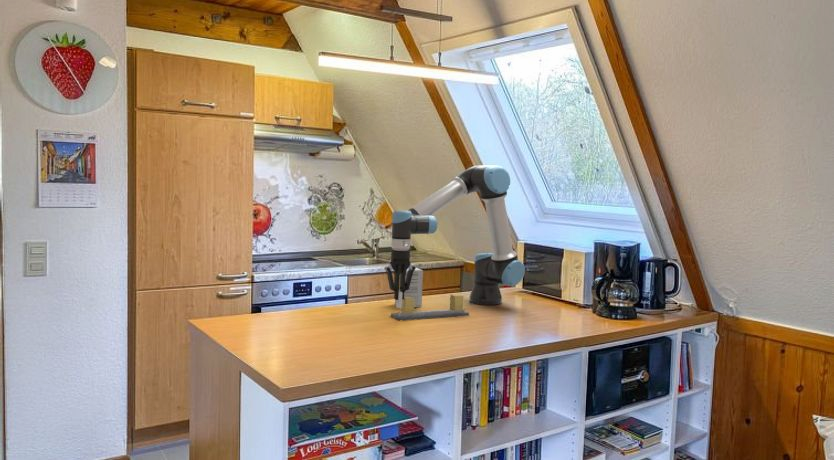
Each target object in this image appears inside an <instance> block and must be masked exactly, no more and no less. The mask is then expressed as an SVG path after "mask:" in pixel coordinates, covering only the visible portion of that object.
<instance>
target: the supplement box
mask: <svg viewBox="0 0 834 460" xmlns="http://www.w3.org/2000/svg"><path fill="white" fill-rule="evenodd" d="M408 270H409V269H407V270H406V275H405V281H406V277H407V273H408ZM423 279H424V270H423V269H420V268H418V267H416V269H415V270H414V272H413V275H412V279H411V283H410V287H409V290H406V291H405V292H404V297H412V298H415V300H414V307H421V308H422V304H423V281H424V280H423ZM399 291H400V279H399ZM394 305H396V300H395V299H394Z"/></svg>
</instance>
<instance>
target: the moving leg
mask: <svg viewBox="0 0 834 460" xmlns="http://www.w3.org/2000/svg"><path fill="white" fill-rule="evenodd" d="M414 300H415V298H412V297H404V299H403V300H402V308H400V313H401V312H403V313H404V314H409V313H414V312H415V308H414Z"/></svg>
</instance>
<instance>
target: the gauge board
mask: <svg viewBox="0 0 834 460" xmlns="http://www.w3.org/2000/svg"><path fill="white" fill-rule="evenodd" d="M464 297H465V296H464V295H462V294H460V293H456V294H450V297H449V308H448V309H446V308H445V309H434V310H416V311H415V310H414V313H409V314H404V313H403V312H401V311H400V312H391V313H390V317H391V316H392V318H393V317H394V318H393V319H395V320H397V321H400V320H403V321H412V320H413V321H414V319H417V320H428V319H441V318H455V317H467V316H470V312H468V311H466V310H465V308H464ZM400 322H401V321H400Z"/></svg>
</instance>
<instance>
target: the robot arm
mask: <svg viewBox="0 0 834 460" xmlns="http://www.w3.org/2000/svg"><path fill="white" fill-rule="evenodd" d="M510 185H511V176H510V174H509V172H508V171H507V169H505V168H504V167H503V166H501V165H495V164H492V165H491V164H490V165H486V164H485V165H473V166H470V167H469V168H467V169H465V170H464V171H461V172H460V173H458V174H456V175H455V176H454V177H453V178H452V179H451V181H450V182H448V183H447V184H446V185H444V186H443V187H441V188H439V190H437V191H435V192H434V193H432V194H431V195H429V196H427V197H426V198H424V199H423V200H422V201H420V202H418V203H417V204H415V205H414V206H412V207H411V208H409V209H408V210H405V209H404V210H403V209H401V210H400V209H398V210H397V209H396V210H394V211H393V212H392V218H391V248H392V249H391V250H390V262H389V265H387V266H384V267H383V268H384V270H385V273H386V275H387V282H388V286H389V290H391V291H393V292H394V293H393V295H394V296H393V298H394V301H395V300H396V304H395V308H397V309H401V308H402V300H403V299H404V292H405V291H406V290H409V287H410V283H411V279H412V275H413V272H414V270H415V269H416V268H417V267H416V266H414V265H412V264H411V261H410V259H411V237H412V236H411V235H428V234H435V232H436V231H437V229H438V225H439V224H438V223H439V222H438V220H437V218H436V216H434V215H435V214H436V213H437V212H440V211H441V210H443V208H446V206H448V205H450V204H451V203H453V202H454V201H456V200H457V199H459V198H460V197H466V196H467V195H469V194H472V193H476V192H478V193H479V198H480V200H481V201H483V202H484V205H485V210H486V211H485V213H486V215H487V223H488V228H489V233H490V240H491V246H492V251H493V252H486V253H485V252H484V253H482V252H481V253H477V254H476V255H475V257H474V266H473V267H474V272H473V276H474V277H473V287H472V289H471V291H470V294H469V301H468V302H470V303H473V304H477V305H484V306H496V305H501V304H502V303H503V296H502V293H501V289H500V284H501V285H504V286H510V287H513V286H517V285H518V284H520V283H521V281H523V278H524V277H525V273H526V267H525V264H524V263H523V262H522V261H521V260H519V258H518V257H519V256H518V253H517V252H516V251H515V250H514V248H513V243H512V242H513V241H512V236H511V232H510V231H511V230H510V225H509V219H508V212H507V208H506V206H507V205H506V200H505V198H506V196H507V195H508V192H507V191H508V190H509V188H510ZM407 269H409V270H408V273H407V277H406V281H405V275H406V270H407ZM392 271H393V272H392ZM393 276H394V277H393ZM399 279H400V291H399Z"/></svg>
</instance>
